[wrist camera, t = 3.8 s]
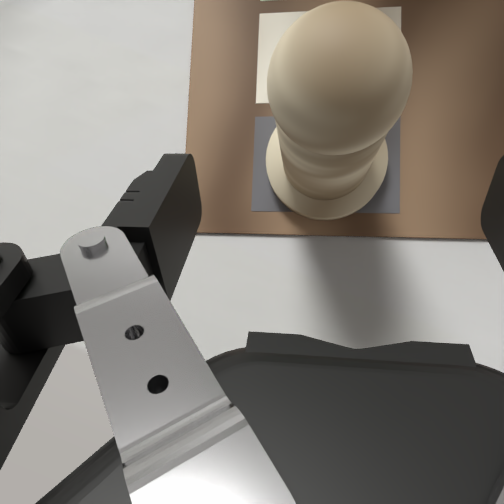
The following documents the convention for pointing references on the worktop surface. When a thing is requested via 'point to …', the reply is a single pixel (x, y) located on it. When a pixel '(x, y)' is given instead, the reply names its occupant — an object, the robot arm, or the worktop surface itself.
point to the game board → (397, 139)
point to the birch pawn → (335, 107)
